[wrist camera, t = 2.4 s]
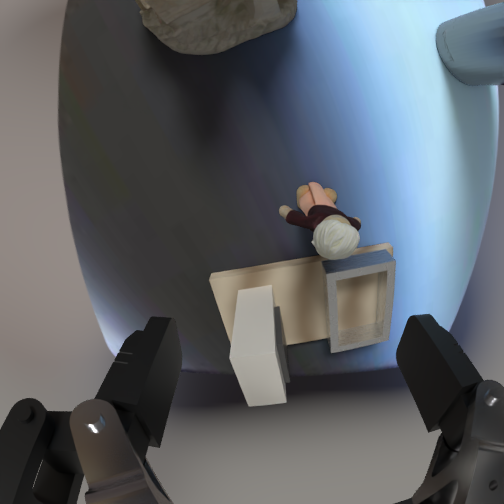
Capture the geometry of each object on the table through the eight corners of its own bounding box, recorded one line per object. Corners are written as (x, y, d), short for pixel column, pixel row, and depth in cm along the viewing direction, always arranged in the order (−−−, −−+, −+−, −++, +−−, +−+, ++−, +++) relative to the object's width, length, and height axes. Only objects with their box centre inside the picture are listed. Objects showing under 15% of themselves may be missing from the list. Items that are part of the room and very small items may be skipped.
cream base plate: (388, 242, 32) (393, 247, 30) (384, 318, 37) (388, 324, 35) (211, 273, 34) (209, 279, 33) (234, 344, 39) (233, 351, 38)
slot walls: (385, 248, 30) (395, 260, 28) (381, 326, 35) (388, 340, 33) (321, 260, 31) (326, 274, 29) (327, 338, 36) (331, 353, 33)
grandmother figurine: (345, 180, 29) (395, 217, 17) (344, 213, 30) (388, 267, 19) (275, 181, 29) (284, 220, 18) (276, 215, 31) (285, 273, 19)
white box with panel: (276, 284, 33) (282, 351, 23) (286, 334, 36) (292, 401, 26) (238, 290, 33) (229, 358, 23) (251, 339, 36) (248, 406, 27)
